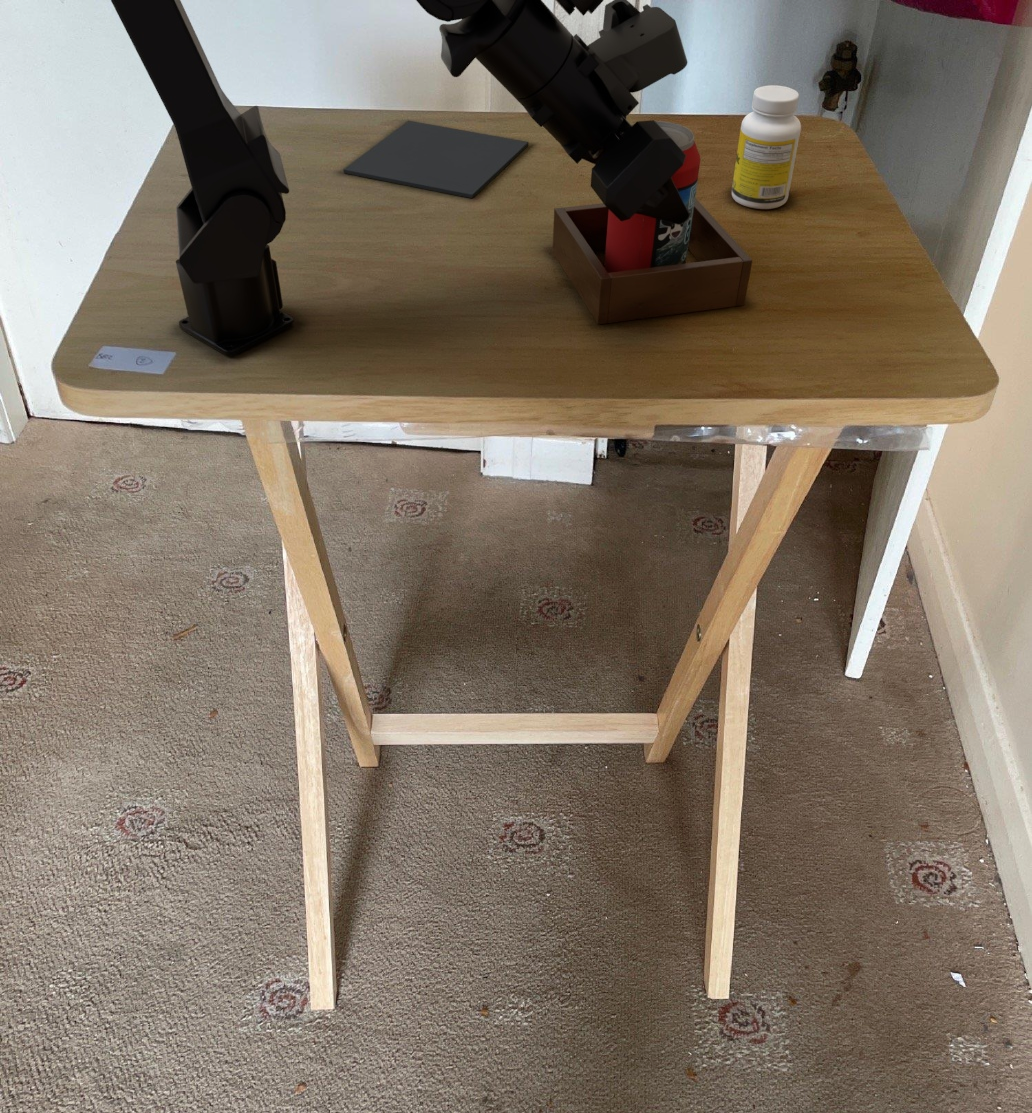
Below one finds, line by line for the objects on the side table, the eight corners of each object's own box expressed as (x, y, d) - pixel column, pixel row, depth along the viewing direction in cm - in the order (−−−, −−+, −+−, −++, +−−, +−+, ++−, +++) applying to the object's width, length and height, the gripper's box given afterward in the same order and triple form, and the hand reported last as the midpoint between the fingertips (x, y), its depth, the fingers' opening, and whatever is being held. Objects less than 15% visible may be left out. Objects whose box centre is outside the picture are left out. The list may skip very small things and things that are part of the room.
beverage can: (679, 301, 85) (700, 155, 77) (597, 291, 86) (609, 146, 77) (686, 263, 90) (707, 121, 81) (609, 254, 91) (621, 113, 82)
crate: (597, 324, 82) (601, 278, 79) (552, 251, 91) (554, 207, 88) (744, 305, 85) (752, 259, 82) (686, 236, 93) (692, 193, 91)
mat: (472, 198, 98) (472, 194, 98) (343, 173, 102) (343, 169, 102) (528, 145, 108) (528, 141, 108) (408, 123, 112) (408, 120, 112)
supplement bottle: (745, 181, 102) (763, 77, 95) (796, 196, 100) (818, 90, 93) (720, 200, 99) (736, 94, 92) (772, 216, 97) (792, 108, 90)
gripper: (675, 11, 64) (799, 171, 74) (583, -62, 77) (699, 81, 87) (547, 149, 68) (682, 283, 78) (480, 56, 81) (603, 181, 91)
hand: (668, 200), depth 83 cm, fingers closed on beverage can, 7 cm apart
